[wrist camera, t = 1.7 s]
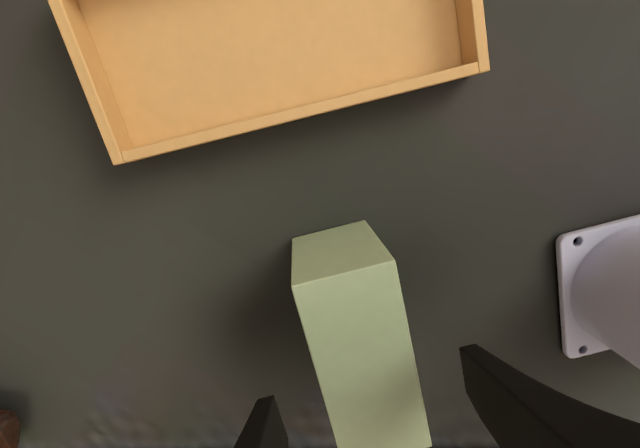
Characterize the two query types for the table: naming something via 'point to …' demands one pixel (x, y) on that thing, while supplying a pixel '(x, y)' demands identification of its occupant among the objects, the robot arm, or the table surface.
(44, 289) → the table surface
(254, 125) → the tray
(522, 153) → the table surface
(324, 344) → the pale green tall box
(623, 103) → the table surface
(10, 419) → the bolt
